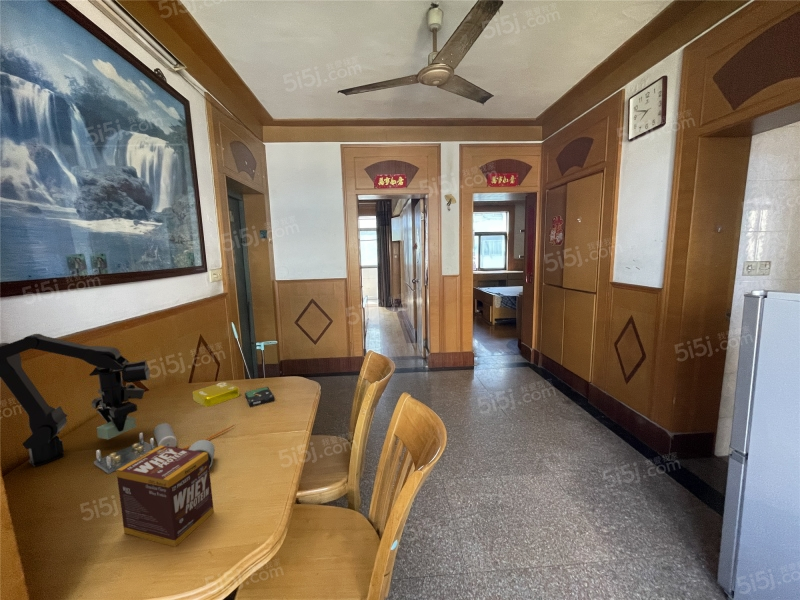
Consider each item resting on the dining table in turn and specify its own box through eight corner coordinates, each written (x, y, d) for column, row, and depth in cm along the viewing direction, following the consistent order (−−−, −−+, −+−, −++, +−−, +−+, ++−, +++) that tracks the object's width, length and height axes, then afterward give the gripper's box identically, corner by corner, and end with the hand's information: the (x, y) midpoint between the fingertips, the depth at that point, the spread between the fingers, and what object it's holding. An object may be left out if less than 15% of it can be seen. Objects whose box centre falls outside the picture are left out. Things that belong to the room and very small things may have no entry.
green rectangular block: (108, 439, 107) (106, 427, 106) (98, 437, 108) (96, 425, 108) (135, 426, 115) (134, 415, 115) (126, 425, 117) (124, 414, 116)
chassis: (108, 473, 96) (106, 459, 95) (94, 464, 100) (92, 450, 100) (158, 451, 107) (156, 438, 106) (143, 443, 112) (142, 431, 111)
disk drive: (275, 402, 144) (268, 391, 156) (275, 396, 143) (267, 385, 156) (250, 408, 138) (244, 396, 150) (249, 402, 138) (244, 391, 150)
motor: (159, 459, 102) (160, 443, 102) (151, 433, 118) (152, 419, 118) (238, 442, 118) (240, 428, 118) (222, 421, 134) (223, 409, 134)
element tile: (191, 400, 148) (190, 390, 147) (225, 389, 160) (224, 380, 159) (206, 408, 139) (205, 397, 139) (241, 396, 151) (240, 386, 150)
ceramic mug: (216, 456, 103) (213, 433, 102) (213, 471, 95) (210, 447, 94) (176, 466, 98) (173, 443, 97) (170, 483, 91) (167, 457, 90)
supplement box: (176, 547, 70) (167, 480, 68) (123, 533, 74) (114, 469, 72) (215, 512, 80) (209, 452, 78) (167, 501, 84) (160, 444, 82)
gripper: (152, 381, 112) (157, 424, 114) (127, 373, 121) (132, 413, 123) (111, 393, 103) (118, 440, 104) (88, 384, 112) (94, 427, 114)
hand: (117, 429), depth 112 cm, fingers closed on green rectangular block, 5 cm apart
